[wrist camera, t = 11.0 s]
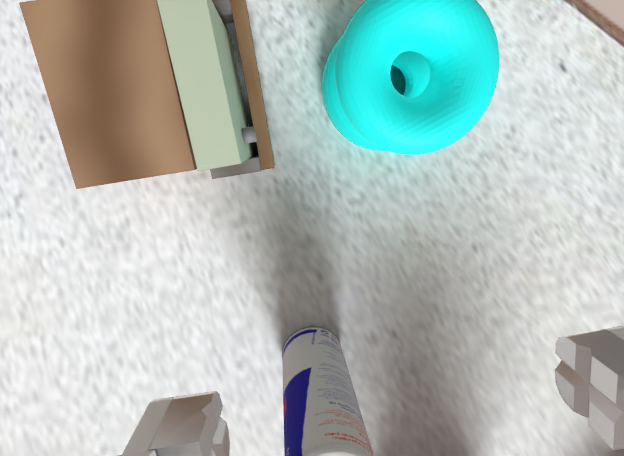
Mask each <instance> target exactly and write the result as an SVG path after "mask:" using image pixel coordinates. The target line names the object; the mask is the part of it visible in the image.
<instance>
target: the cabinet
mask: <svg viewBox="0 0 624 456" xmlns="http://www.w3.org/2000/svg"><path fill="white" fill-rule="evenodd" d="M212 2H213V4H214V6H215V8H216V10H217V12H218V14H219V16H220V18H221V20H222V22H223V23H230V22H234V24H235V30H236V35H237V40H238V46H239V51H240V57H241V62H242V68H243V73H244V78H245V84H246V89H247V95H248V100H249V105H250V111H251V116H252V122H253V126H254V129H255V134H256V140H257V142H256V143H257V149H258V154H259V155H257V156H251V157H250V158H248V159H247V160H245V161H244V162H243V163H241V164H236V165H230V166H225V167H219V168H213V169H210V171H211V175H212V179H215V178H221V177H227V176H234V175H240V174H246V173H252V172H258V171H261V170H264V169H270V168H274V166H275V164H274V159H273V153H272V147H271V142H270V136H269V130H268V124H267V119H266V113H265V107H264V102H263V96H262V90H261V85H260V79H259V73H258V68H257V62H256V56H255V50H254V45H253V39H252V33H251V28H250V22H249V16H248V11H247V5H246V1H245V0H212ZM19 4H20V7H21V10H22V13H23V17H24V20H25V23H26V26H27V30H28V33H29V36H30V39H31V43H32V46H33V49H34V52H35V56H36V59H37V62H38V65H39V69H40V72H41V75H42V78H43V82H44V85H45V88H46V92H47V95H48V98H49V101H50V105H51V108H52V111H53V114H54V118H55V121H56V124H57V127H58V131H59V134H60V137H61V140H62V144H63V147H64V150H65V153H66V157H67V160H68V163H69V166H70V170H71V173H72V176H73V180H74V183H75V186H76V189H79V188H85V187H91V186H97V185H104V184H110V183H116V182H122V181H128V180H135V179H141V178H147V177H153V176H159V175H166V174H172V173H178V172H184V171H191V170H195V169H197V165H196V161H195V157H194V153H193V149H192V145H191V140H190V136H189V132H188V128H187V124H186V120H185V115H184V111H183V107H182V103H181V99H180V94H179V90H178V86H177V82H176V78H175V74H174V69H173V65H172V61H171V57H170V53H169V49H168V44H167V40H166V36H165V32H164V28H163V24H162V19H161V15H160V11H159V7H158V3H157V0H36V1H28V2H21V3H19Z"/></svg>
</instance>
